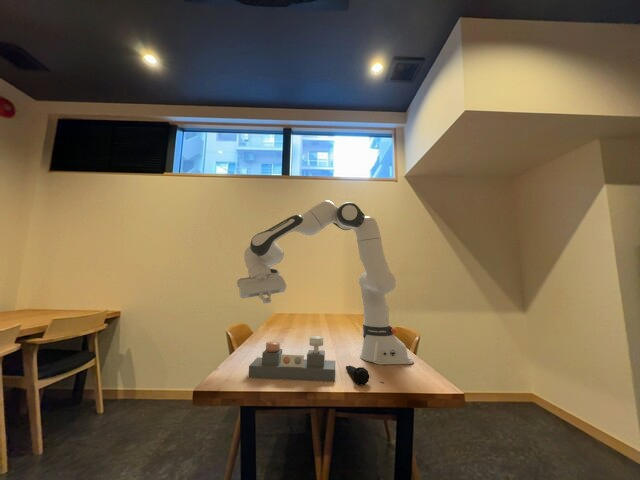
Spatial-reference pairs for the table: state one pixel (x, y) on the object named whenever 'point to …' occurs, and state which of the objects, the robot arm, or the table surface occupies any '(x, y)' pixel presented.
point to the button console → (293, 367)
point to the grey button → (316, 343)
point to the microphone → (358, 374)
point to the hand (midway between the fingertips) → (267, 302)
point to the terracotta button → (272, 346)
